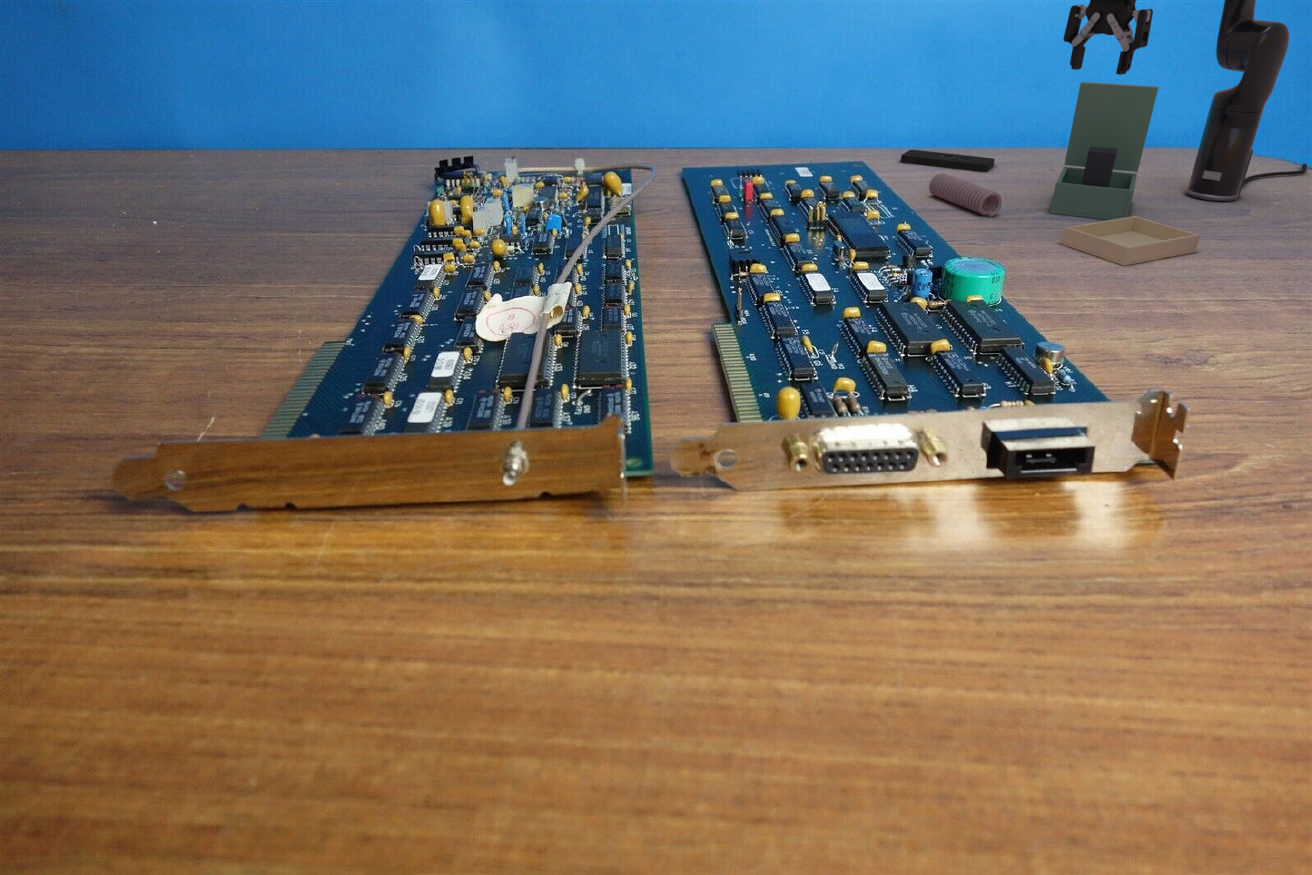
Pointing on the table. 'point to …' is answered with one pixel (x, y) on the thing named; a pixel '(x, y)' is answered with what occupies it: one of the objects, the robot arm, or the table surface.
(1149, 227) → the tray
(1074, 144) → the lid
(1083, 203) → the chest
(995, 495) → the table surface
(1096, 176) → the block
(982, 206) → the coil
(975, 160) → the smart home device
